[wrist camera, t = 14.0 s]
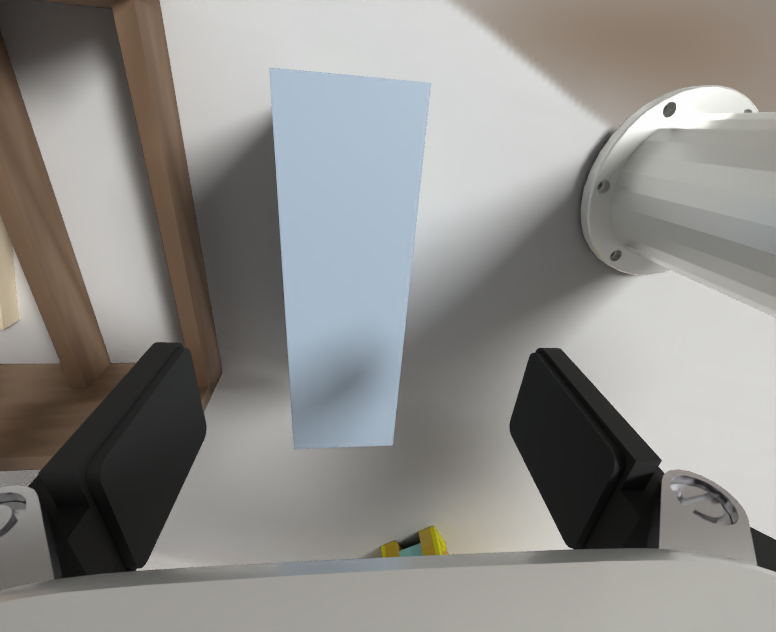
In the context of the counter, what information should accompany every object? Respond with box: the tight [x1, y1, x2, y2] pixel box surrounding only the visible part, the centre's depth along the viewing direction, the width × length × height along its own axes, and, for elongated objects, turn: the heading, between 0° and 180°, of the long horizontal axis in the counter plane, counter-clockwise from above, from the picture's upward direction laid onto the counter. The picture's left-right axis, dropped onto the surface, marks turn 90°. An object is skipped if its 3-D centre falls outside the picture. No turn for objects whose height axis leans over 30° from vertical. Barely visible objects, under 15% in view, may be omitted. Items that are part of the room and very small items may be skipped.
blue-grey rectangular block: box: [269, 68, 431, 449], centre depth 20 cm, size 5×16×12 cm, turn 176°
